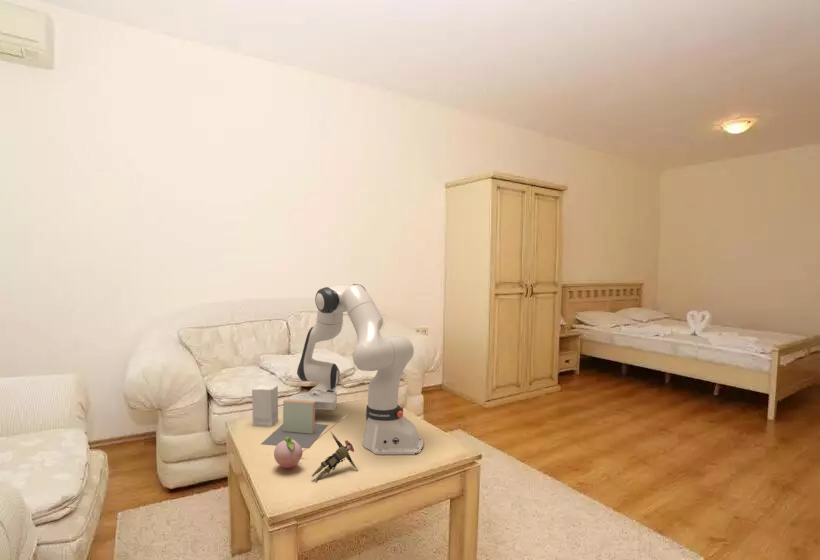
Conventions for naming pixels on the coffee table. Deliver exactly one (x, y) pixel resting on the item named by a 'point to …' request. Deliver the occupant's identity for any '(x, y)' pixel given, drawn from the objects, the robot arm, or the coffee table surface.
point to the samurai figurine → (334, 456)
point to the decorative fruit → (288, 453)
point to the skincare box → (265, 405)
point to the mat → (295, 436)
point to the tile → (298, 416)
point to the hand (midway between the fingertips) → (305, 408)
